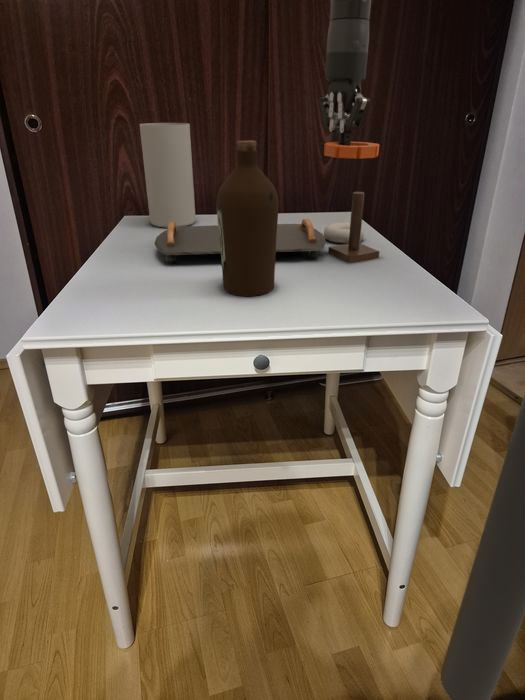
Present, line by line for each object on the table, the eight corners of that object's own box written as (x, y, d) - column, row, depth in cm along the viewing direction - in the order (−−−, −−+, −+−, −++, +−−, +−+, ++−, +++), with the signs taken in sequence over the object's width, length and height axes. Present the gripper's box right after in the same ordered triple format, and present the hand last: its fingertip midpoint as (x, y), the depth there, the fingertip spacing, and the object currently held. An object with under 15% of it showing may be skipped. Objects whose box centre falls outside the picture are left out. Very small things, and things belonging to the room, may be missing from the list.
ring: (388, 156, 91) (390, 145, 90) (345, 159, 87) (346, 147, 86) (355, 151, 99) (356, 140, 98) (315, 153, 95) (315, 142, 94)
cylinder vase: (153, 218, 140) (143, 122, 128) (197, 217, 140) (191, 122, 129) (147, 228, 129) (135, 125, 117) (194, 228, 129) (187, 125, 118)
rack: (378, 257, 106) (386, 194, 99) (349, 263, 103) (354, 197, 96) (356, 248, 112) (362, 188, 106) (327, 253, 109) (331, 191, 102)
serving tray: (151, 267, 100) (147, 237, 97) (160, 238, 120) (158, 212, 117) (334, 261, 103) (336, 232, 100) (313, 234, 124) (315, 209, 121)
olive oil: (279, 278, 94) (281, 138, 82) (274, 299, 84) (276, 144, 73) (225, 276, 95) (220, 138, 83) (214, 296, 85) (207, 143, 74)
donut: (372, 241, 118) (343, 232, 125) (374, 227, 117) (344, 218, 124) (343, 248, 113) (314, 238, 120) (344, 233, 111) (315, 224, 118)
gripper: (388, 49, 84) (376, 155, 92) (341, 53, 95) (334, 148, 103) (353, 47, 81) (345, 157, 89) (309, 52, 92) (305, 150, 100)
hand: (339, 152), depth 96 cm, fingers closed on ring, 2 cm apart
